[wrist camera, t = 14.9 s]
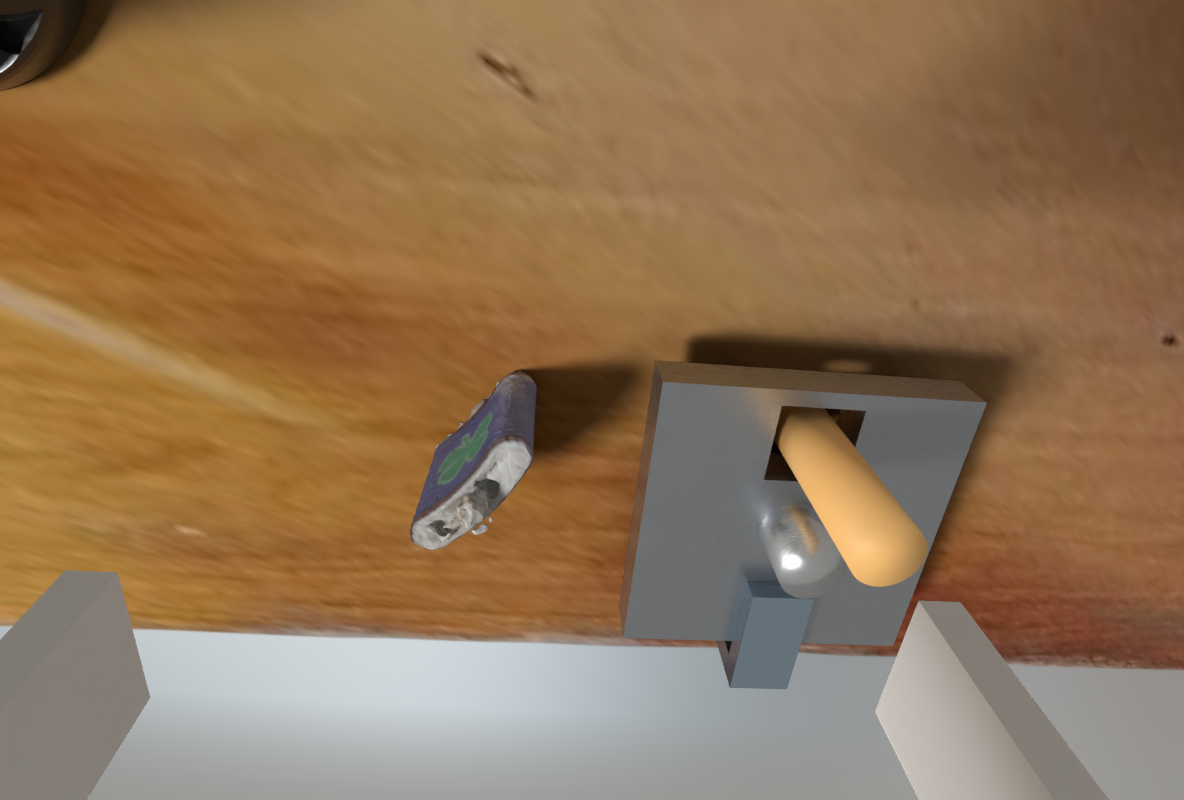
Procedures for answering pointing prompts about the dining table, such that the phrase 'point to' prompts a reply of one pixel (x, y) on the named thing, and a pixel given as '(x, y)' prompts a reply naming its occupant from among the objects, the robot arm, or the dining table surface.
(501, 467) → the flask
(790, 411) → the light orange cylinder
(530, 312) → the dining table surface
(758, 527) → the grey plate
